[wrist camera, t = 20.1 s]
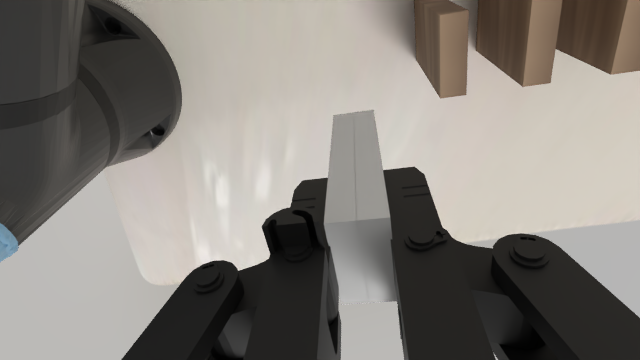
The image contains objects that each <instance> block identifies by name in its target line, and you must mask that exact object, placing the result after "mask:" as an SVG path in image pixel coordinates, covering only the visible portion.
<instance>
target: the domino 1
mask: <svg viewBox="0 0 640 360" xmlns="http://www.w3.org/2000/svg"><path fill="white" fill-rule="evenodd" d="M414 13H415V38H416V60H417V62H418V63H419V65H420V67H421V68H422V70H423V71H424V73H425V75H426V76H427V78H428V79H429V81H430V83H431V84H432V86H433V87H434V89H435V91H436V92H437V94H438V95H439V97H440V98H447V97H454V96H461V95H466V85H467V52H468V18H469V10H467V9H465V8H463V7H461V6H459V5H457V4H455V3H453V2H451V1H449V0H414Z"/></svg>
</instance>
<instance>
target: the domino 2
mask: <svg viewBox="0 0 640 360" xmlns="http://www.w3.org/2000/svg"><path fill="white" fill-rule="evenodd" d="M561 7H562V0H478V18H477V42H476V51H477V52H479V53H480V54H481V55H482V56H484V57H485V58H486V59H488V60H489V61H490V62H491V63H493V64H494V65H495V66H497V67H498V68H499V69H501V70H502V71H503V72H504V73H506V74H507V75H508V76H510V77H511V78H512V79H513V80H515V81H516V82H517V83H519V84H520V85H521V86H522V87H525V86H532V85H539V84H546V83H550V82H551V75H552V68H553V62H554V55H555V48H556V41H557V34H558V28H559V21H560V14H561Z"/></svg>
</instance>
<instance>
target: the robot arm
mask: <svg viewBox="0 0 640 360" xmlns="http://www.w3.org/2000/svg"><path fill="white" fill-rule="evenodd" d="M181 106H182V92H181V85H180V80H179V77H178V73H177V70H176V68H175V65H174V63H173V61H172V59H171V57H170V55H169V53H168V52H167V50H166V49H165V47H164V45H163V44H162V43H161V41H160V40H159V39H158V38H157V36H156V35H155V34H154V33H153V32H152V31H151V30H150V29H149V28H148V27H147V26H146V25H145V24H144V23H143V22H142V21H141V20H140V19H138V18H137V17H136V16H134V15H133V14H132V13H130V12H129V11H127V10H125V9H124V8H122V7H120V6H118V5H116V4H114V3H112V2H110V1H107V0H0V262H1V261H3V260H4V259H5V258H7V257H10V256H11V255H12V254H13V253H15V252H16V251H17V250H18V248H19V247H18V246H19V245H20V244H21V243H22V242H23V241H24V240H26V239H27V238H28V237H29V236H30V235H31V234H32V233H33V232H34V231H36V230H37V229H38V228H39V227H40V226H41V225H42V224H43V223H44V222H46V221H47V220H48V219H49V218H50V217H51V216H52V215H53V214H54V213H55V212H57V211H58V210H59V209H60V208H61V207H62V206H63V205H64V204H66V203H67V202H68V201H69V200H70V199H71V198H72V197H73V196H74V195H76V194H77V193H78V192H79V191H80V190H81V189H82V188H83V187H84V186H86V185H87V184H88V183H89V182H90V181H91V180H92V179H93V178H94V177H96V176H97V175H98V174H99V173H100V172H101V171H102V170H103V169H104V168H106V167H108V166H111V165H114V164H118V163H121V162H124V161H127V160H131V159H134V158H137V157H140V156H143V155H145V154H147V153H149V152H151V151H152V150H154V149H155V148H157V147H158V146H159V145H160V144H161V143H162V142H163V141H164V140H165V139H166V138H167V137H168V136H169V135H170V134H171V132H172V131H173V129H174V128H175V126H176V124H177V122H178V119H179V116H180V112H181ZM262 229H263V232H264V235H265V239H266V242H267V245H268V248H269V251H270V257H269V259H268V260H266V261H264V262H263V263H260V264H258V265H255V266H252V267H249V268H246V269H243V270H240V271H238V270H237V268H236V267H235V266H234V265H233V264H232V263H231V262H227V261H224V260H222V261H212V262H209V263H206V264H203V265H201V266H200V267H198V268H196V269H195V270H193V271H192V272H191V273H190V274H189V275H188V276H187V277H186V278H185V279H184V280H183V282H182V283H181V284H180V286H179V287H178V288H177V290H176V291H175V292H174V293H173V295H172V296H171V297H170V298H169V300H168V301H167V302H166V304H165V305H164V306H163V307H162V309H161V310H160V311H159V313H158V314H157V315H156V316H155V317H154V319H153V320H152V321H151V323H150V324H149V325H148V326H147V328H146V329H145V330H144V332H143V333H142V334H141V335H140V337H139V338H138V339H137V340H136V342H135V343H134V344H133V346H132V347H131V348H130V349H129V351H128V352H127V353H126V355H125V356H124V357H123V358H122V360H340V358H341V320H340V315H339V311H338V300H339V299H340V304H341V305H342V304H358V303H372V302H373V303H374V302H388V301H397V304H398V314H399V324H400V335H401V339H402V345H403V352H404V360H496V359H495V356H494V354H495V355H496V357H497V358H498V360H640V318H639V317H638V316H637V315H636V314H635V313H634V312H632V311H631V310H630V309H629V308H628V307H627V306H626V305H625V304H623V303H622V302H621V301H620V300H619V299H618V298H616V297H615V296H614V295H613V294H612V293H611V292H610V291H609V290H608V289H606V288H605V287H604V286H603V285H602V284H601V283H600V282H598V281H597V280H596V279H595V278H594V277H593V276H592V275H590V274H589V273H588V272H587V271H586V270H585V269H584V268H583V267H581V266H580V265H579V264H578V263H577V262H575V260H574V259H572V258H571V257H570V256H569V255H568V254H567V253H566V252H564V251H563V250H562V249H561V248H560V247H559V246H557V245H556V244H554V243H552V242H551V241H549V240H547V239H544V238H542V237H539V236H536V235H530V234H512V235H507V236H505V237H503V238H500V239H499V240H498V241H497V242H496V243H495V244H494V246H493V249H492V248H485V247H477V246H472V245H467V244H464V243H461V242H459V241H456V240H455V239H453V238H452V237H451V236H450V234H449V233H448V231H447V230H445V229H444V228H443V227H442V225H441V222H440V219H439V216H438V213H437V210H436V208H435V205H434V202H433V199H432V196H431V193H430V190H429V187H428V184H427V181H426V178H425V175H424V174H423V173H422V172H420V171H419V170H418V169H417V168H415V167H408V168H399V169H390V170H383V168H382V161H381V155H380V148H379V142H378V136H377V129H376V123H375V117H374V110H369V111H362V112H354V113H347V114H340V115H334V117H333V128H332V139H331V150H330V161H329V172H328V178H321V179H312V180H304V181H302V182H301V183H300V184H299V185H298V187H297V188H296V189H295V190H294V194H293V198H292V203H291V207H290V208H286V209H282V210H280V211H278V212H276V213H274V214H272V215H271V216H270V217H269V218H267V219H266V220H265V222H264V224H263V225H262ZM492 350H493V351H492ZM493 352H494V354H493Z"/></svg>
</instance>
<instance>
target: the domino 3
mask: <svg viewBox="0 0 640 360" xmlns="http://www.w3.org/2000/svg"><path fill="white" fill-rule="evenodd" d="M555 49H557V50H559V51H562V52H564V53H566V54H568V55H570V56H572V57H574V58H577V59H579V60H581V61H583V62H585V63H587V64H589V65H591V66H594V67H596V68H598V69H600V70H602V71H604V72H606V73H609V74H618V73H625V72H633V71H640V0H562V7H561V14H560V21H559V28H558V34H557V41H556V48H555Z"/></svg>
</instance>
